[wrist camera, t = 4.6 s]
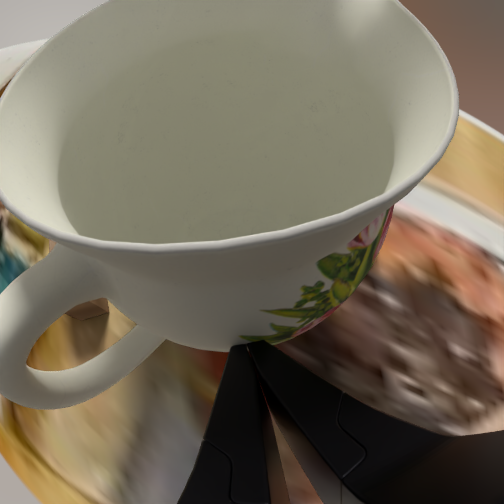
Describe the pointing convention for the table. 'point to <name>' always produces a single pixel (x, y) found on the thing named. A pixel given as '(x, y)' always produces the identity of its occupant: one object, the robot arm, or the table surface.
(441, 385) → the table surface
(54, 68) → the pitcher
